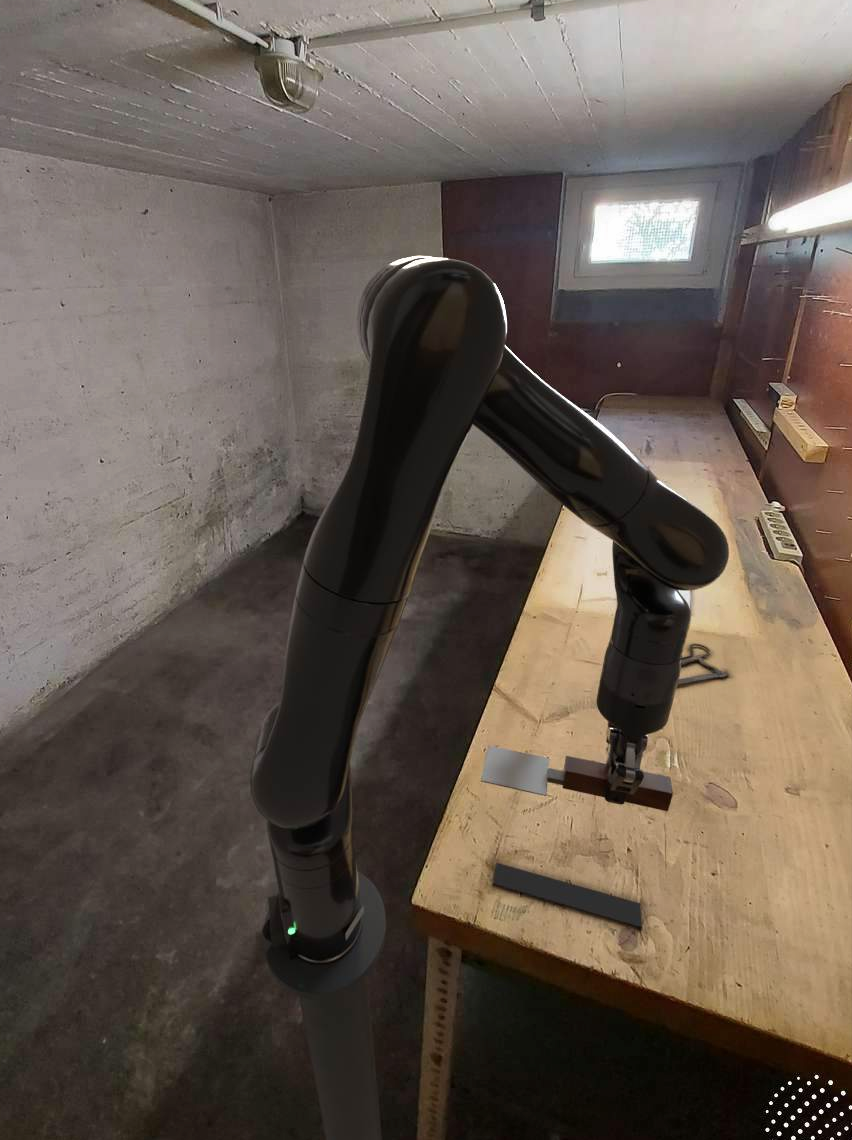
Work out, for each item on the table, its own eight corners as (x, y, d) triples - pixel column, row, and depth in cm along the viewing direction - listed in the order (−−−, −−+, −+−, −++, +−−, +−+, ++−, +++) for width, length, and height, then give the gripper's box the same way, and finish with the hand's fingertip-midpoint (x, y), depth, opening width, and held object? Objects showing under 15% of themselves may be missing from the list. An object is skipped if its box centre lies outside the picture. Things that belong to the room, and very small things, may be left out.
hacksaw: (627, 697, 104) (628, 690, 103) (596, 663, 113) (597, 657, 112) (738, 675, 108) (740, 668, 108) (700, 644, 117) (702, 638, 117)
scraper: (663, 782, 69) (668, 765, 68) (670, 824, 64) (675, 806, 63) (487, 746, 75) (489, 729, 74) (480, 781, 70) (482, 764, 69)
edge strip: (492, 884, 73) (492, 883, 73) (496, 863, 76) (496, 862, 75) (641, 928, 68) (641, 927, 68) (640, 904, 70) (640, 903, 70)
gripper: (600, 636, 68) (581, 742, 75) (603, 715, 56) (580, 832, 63) (667, 646, 66) (641, 754, 73) (686, 730, 54) (652, 849, 61)
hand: (613, 789), depth 68 cm, fingers closed on scraper, 2 cm apart
